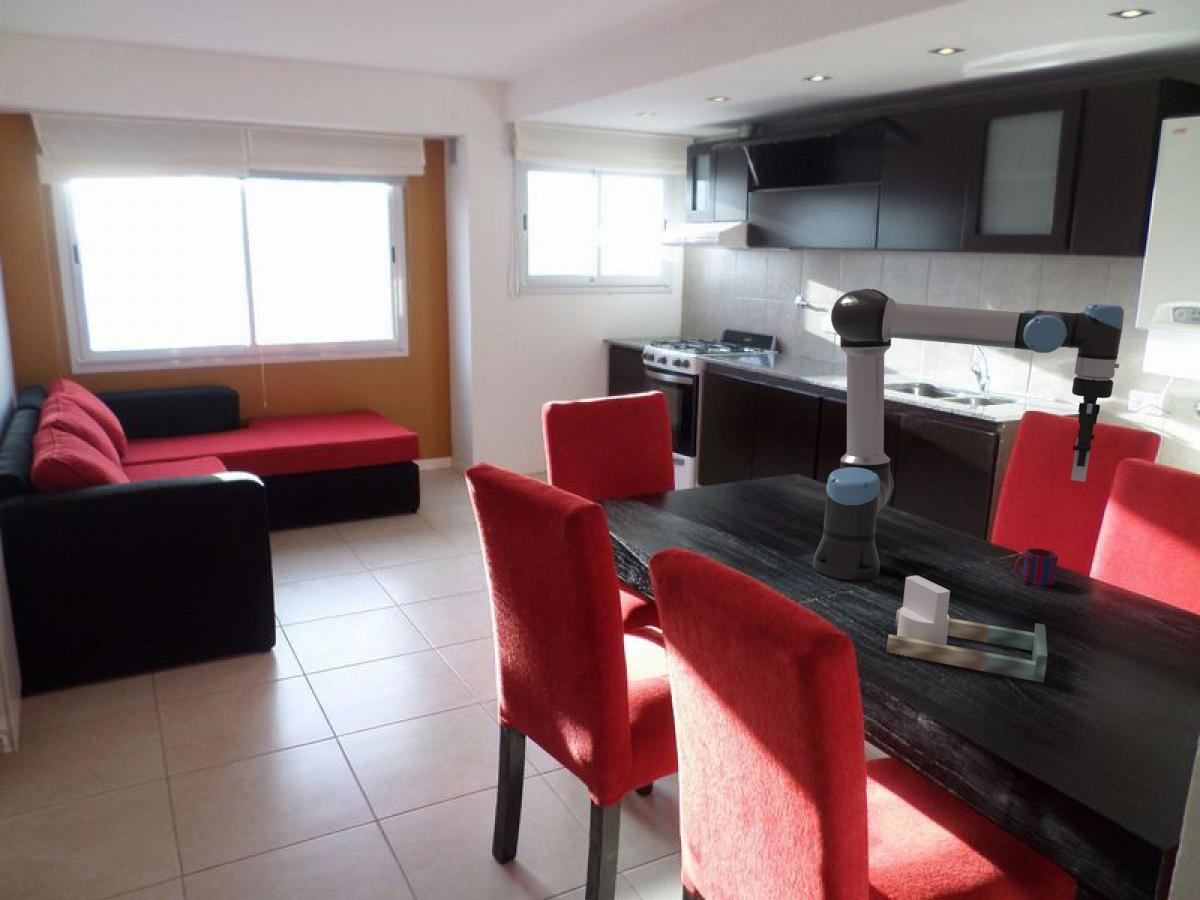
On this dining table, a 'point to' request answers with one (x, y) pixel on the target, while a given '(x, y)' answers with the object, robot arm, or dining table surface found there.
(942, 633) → the cylinder with rectangular tab
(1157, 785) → the dining table surface
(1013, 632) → the bay
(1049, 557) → the mug
